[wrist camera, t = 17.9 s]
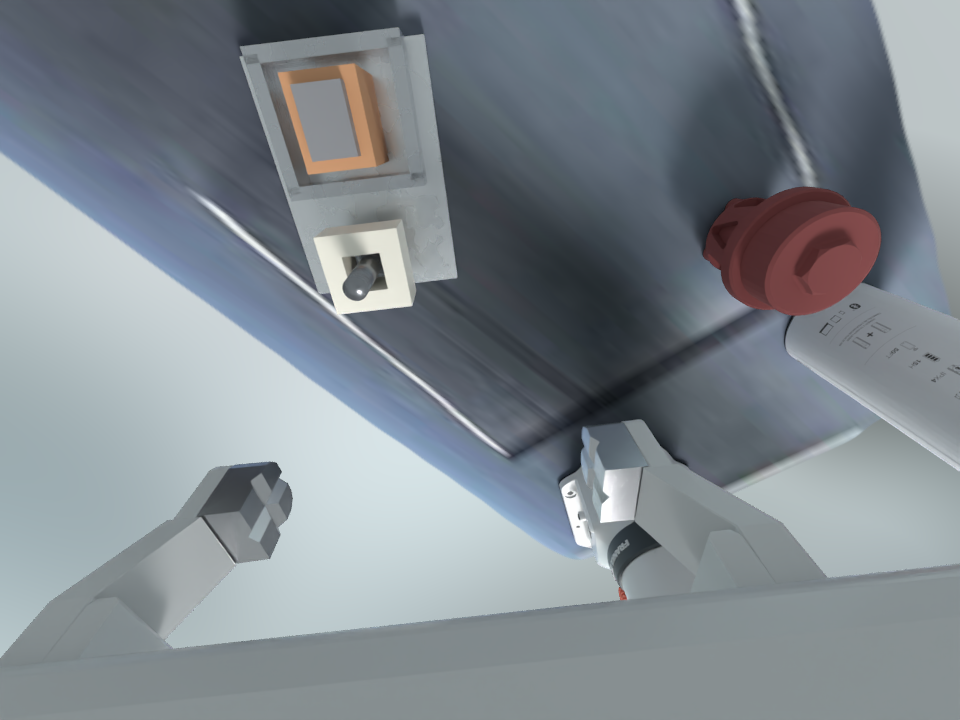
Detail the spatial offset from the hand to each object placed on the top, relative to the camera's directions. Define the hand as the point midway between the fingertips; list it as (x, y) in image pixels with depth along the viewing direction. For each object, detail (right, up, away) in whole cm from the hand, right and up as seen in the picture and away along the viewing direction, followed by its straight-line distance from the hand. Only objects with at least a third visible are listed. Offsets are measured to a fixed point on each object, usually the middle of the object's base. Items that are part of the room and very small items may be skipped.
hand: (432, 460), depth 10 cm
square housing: (-8, +11, +24) cm, 28 cm away
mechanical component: (+27, +16, +29) cm, 42 cm away
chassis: (-9, +19, +25) cm, 32 cm away
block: (-9, +22, +21) cm, 32 cm away
